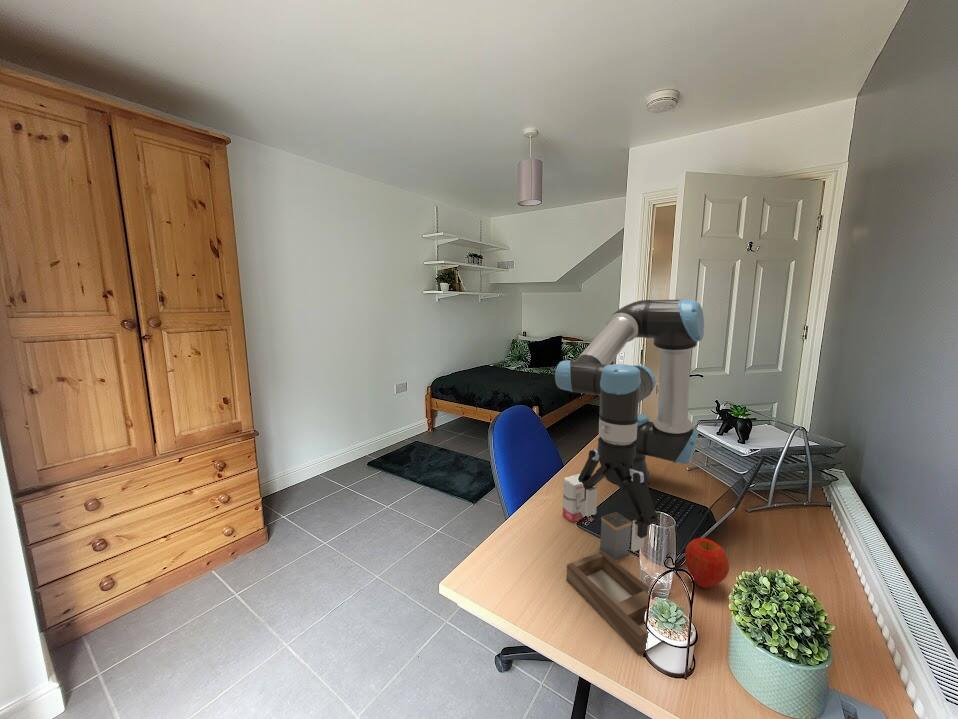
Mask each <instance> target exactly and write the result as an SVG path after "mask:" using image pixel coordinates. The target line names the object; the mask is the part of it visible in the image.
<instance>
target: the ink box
mask: <svg viewBox="0 0 958 719" xmlns="http://www.w3.org/2000/svg"><path fill="white" fill-rule="evenodd" d="M580 474H581V473H578V474H574V475H571V476H565V477H564V478H563V484H562V486H563V489H562V492H563V493H562V516H564V517H565V518H566V519H567V520H568V521H570V522H571V523H576V522H578V521H580V519H581V520H583V519H582V518H583V517H585V505H586V500H585V497H584V495H585V488H584V486H583V483H582V482H579V480H578V478H579V476H580ZM593 487H596V485H595V486H593Z"/></svg>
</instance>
